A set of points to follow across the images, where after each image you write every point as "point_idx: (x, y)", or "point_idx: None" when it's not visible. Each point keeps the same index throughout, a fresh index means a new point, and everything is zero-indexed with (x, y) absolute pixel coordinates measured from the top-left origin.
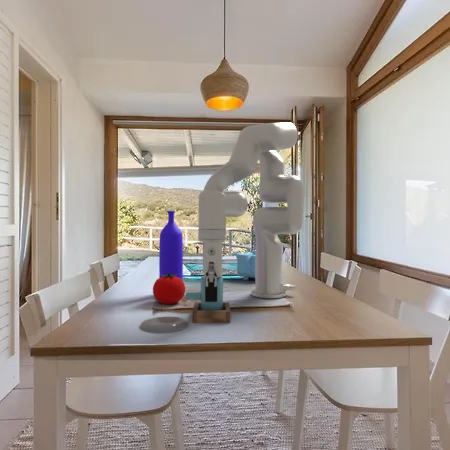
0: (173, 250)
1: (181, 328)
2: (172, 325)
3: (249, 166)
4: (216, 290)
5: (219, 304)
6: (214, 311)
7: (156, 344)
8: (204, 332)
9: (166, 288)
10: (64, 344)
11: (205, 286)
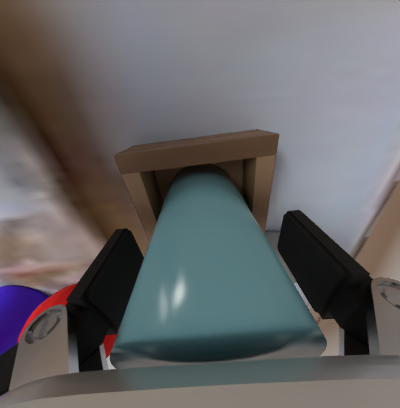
0: None
1: None
2: (281, 257)
3: None
4: (341, 254)
5: (237, 192)
6: (268, 196)
7: (352, 254)
8: (312, 193)
9: (114, 336)
10: None
11: (328, 318)
